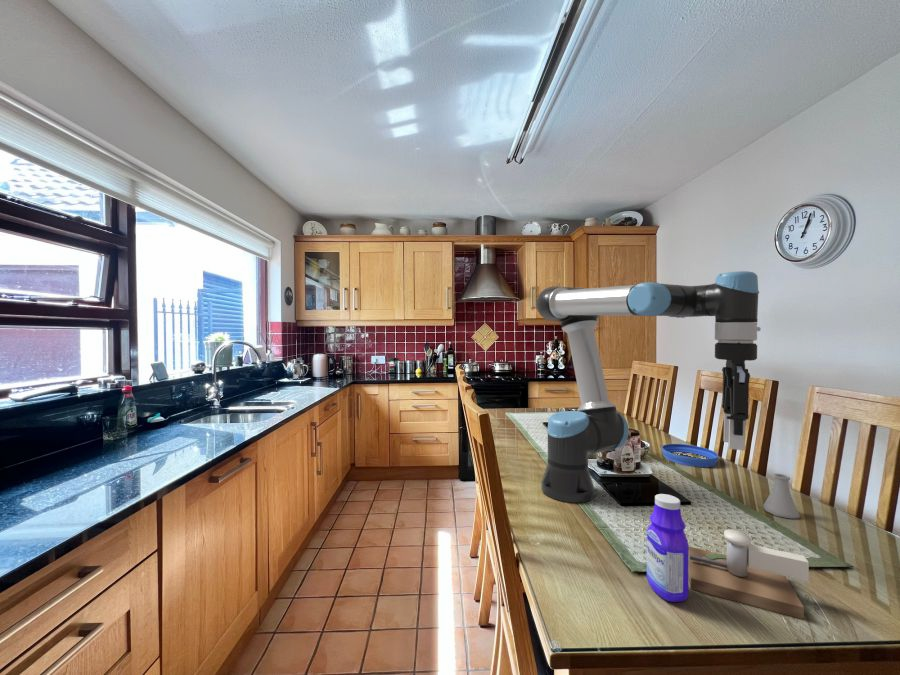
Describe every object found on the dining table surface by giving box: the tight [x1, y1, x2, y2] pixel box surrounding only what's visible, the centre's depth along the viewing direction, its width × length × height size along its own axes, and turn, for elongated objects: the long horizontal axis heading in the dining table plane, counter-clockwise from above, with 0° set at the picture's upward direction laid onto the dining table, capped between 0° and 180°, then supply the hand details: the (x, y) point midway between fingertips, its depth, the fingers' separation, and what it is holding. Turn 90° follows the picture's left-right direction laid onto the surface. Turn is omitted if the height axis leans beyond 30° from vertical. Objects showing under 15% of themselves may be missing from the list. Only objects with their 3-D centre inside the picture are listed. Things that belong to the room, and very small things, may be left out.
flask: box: [762, 473, 801, 520], centre depth 99 cm, size 7×7×10 cm
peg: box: [689, 529, 810, 582], centre depth 71 cm, size 18×4×7 cm, turn 63°
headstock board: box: [688, 546, 805, 620], centre depth 71 cm, size 16×12×2 cm
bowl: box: [661, 443, 719, 468], centre depth 141 cm, size 18×18×4 cm
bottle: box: [646, 493, 690, 603], centre depth 69 cm, size 7×6×17 cm
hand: (733, 445), depth 83 cm, fingers open, 5 cm apart
